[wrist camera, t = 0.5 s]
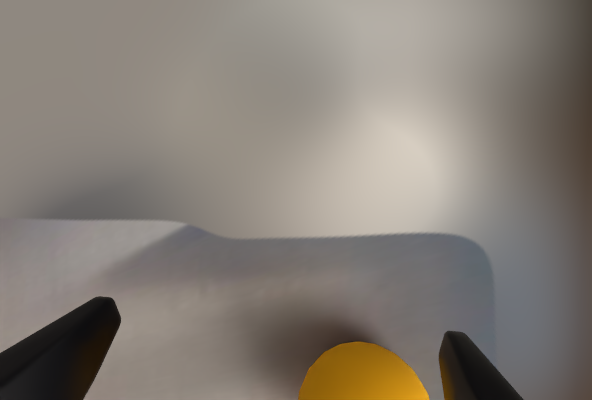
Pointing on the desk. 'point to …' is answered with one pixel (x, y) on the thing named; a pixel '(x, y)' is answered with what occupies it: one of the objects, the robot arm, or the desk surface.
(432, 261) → the desk surface
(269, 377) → the desk surface
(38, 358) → the robot arm
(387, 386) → the apple
